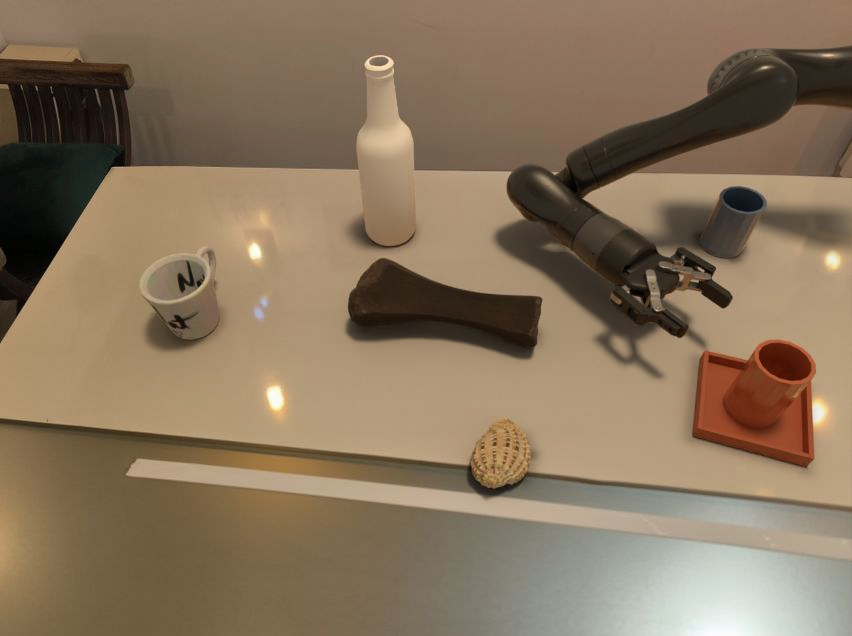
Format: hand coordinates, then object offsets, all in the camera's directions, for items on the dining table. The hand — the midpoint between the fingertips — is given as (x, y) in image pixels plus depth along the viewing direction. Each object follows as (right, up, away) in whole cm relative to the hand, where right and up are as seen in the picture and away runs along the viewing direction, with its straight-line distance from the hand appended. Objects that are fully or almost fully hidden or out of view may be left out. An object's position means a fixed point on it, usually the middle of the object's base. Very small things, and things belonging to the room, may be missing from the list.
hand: (707, 317), depth 79 cm
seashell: (-27, -18, -1) cm, 33 cm away
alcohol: (-41, +17, +28) cm, 52 cm away
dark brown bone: (-33, 0, +14) cm, 36 cm away
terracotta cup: (+6, -12, +1) cm, 13 cm away
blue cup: (+13, +13, +21) cm, 28 cm away
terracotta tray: (+6, -12, +1) cm, 14 cm away
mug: (-71, +2, +18) cm, 73 cm away
